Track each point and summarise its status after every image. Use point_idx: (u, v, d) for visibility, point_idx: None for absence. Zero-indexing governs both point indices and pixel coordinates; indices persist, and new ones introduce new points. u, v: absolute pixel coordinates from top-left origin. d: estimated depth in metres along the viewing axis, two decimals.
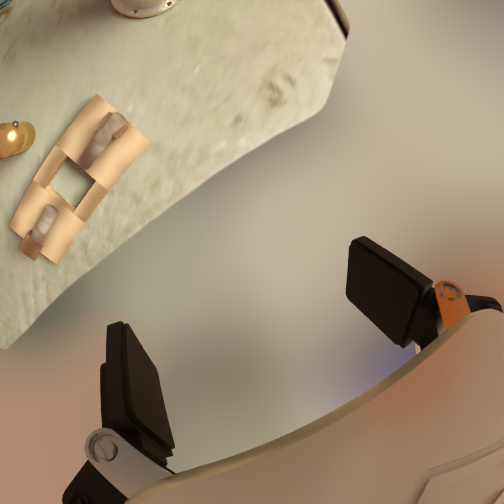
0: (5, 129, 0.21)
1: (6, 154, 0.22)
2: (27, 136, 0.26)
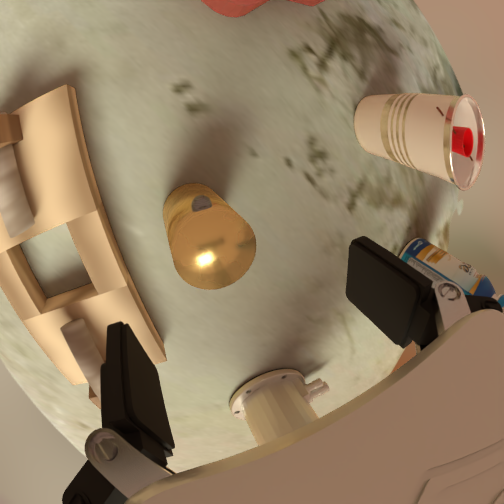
0: (230, 271, 0.17)
1: (178, 248, 0.15)
2: None
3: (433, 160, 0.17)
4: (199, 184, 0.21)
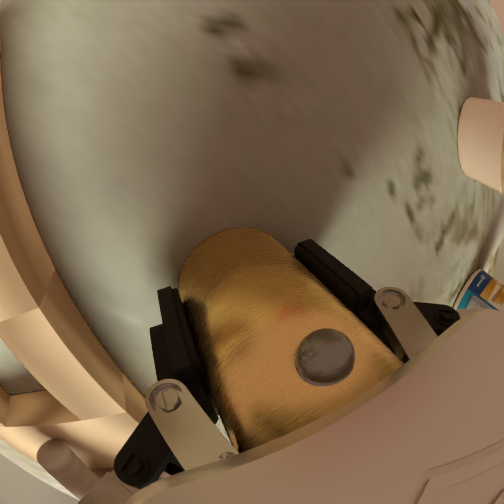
0: None
1: None
2: None
3: None
4: (254, 232, 0.11)
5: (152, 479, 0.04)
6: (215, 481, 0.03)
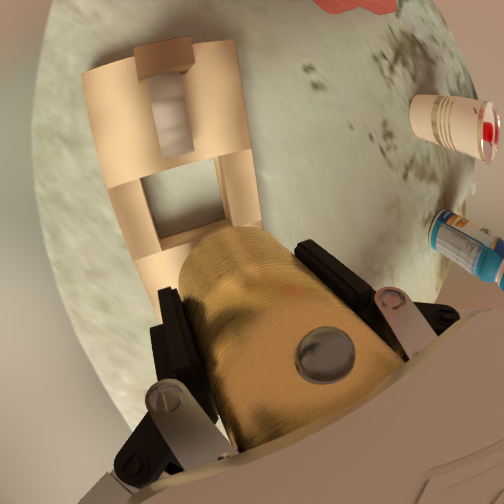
0: None
1: None
2: None
3: (469, 142, 0.21)
4: (254, 230, 0.10)
5: (152, 479, 0.04)
6: (215, 481, 0.03)
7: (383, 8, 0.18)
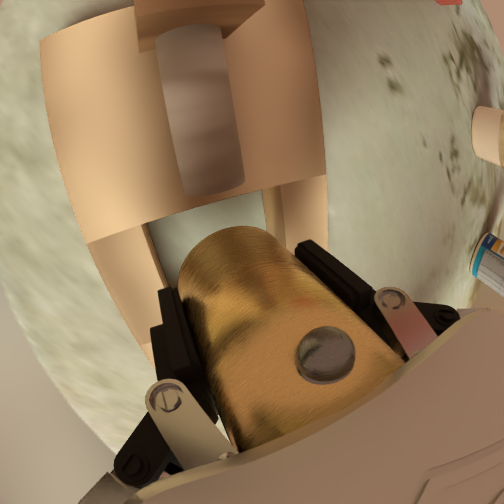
0: None
1: None
2: None
3: None
4: (254, 230, 0.10)
5: (152, 479, 0.04)
6: (215, 481, 0.03)
7: None
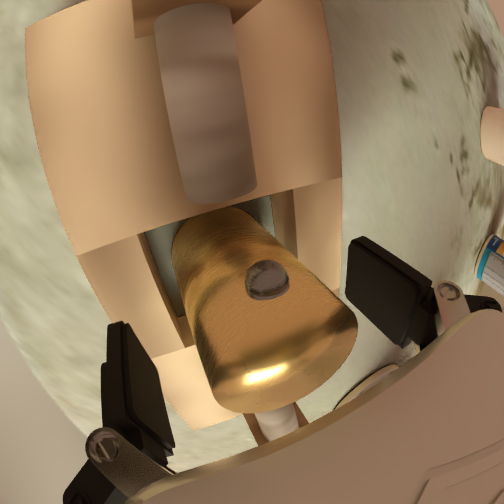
0: (307, 384, 0.09)
1: (223, 376, 0.07)
2: None
3: None
4: (232, 209, 0.13)
5: None
6: (215, 481, 0.03)
7: None
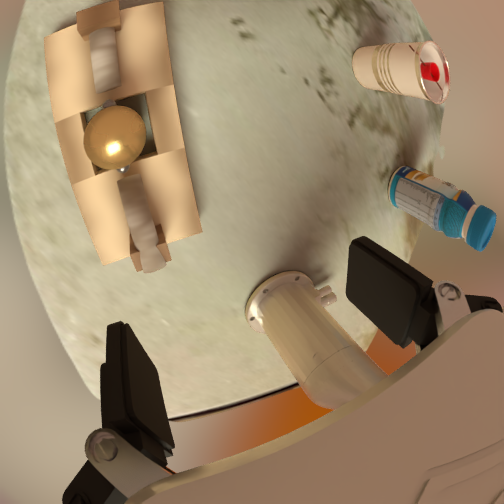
0: (125, 154, 0.18)
1: (87, 134, 0.16)
2: None
3: (409, 80, 0.22)
4: None
5: None
6: (215, 481, 0.03)
7: None
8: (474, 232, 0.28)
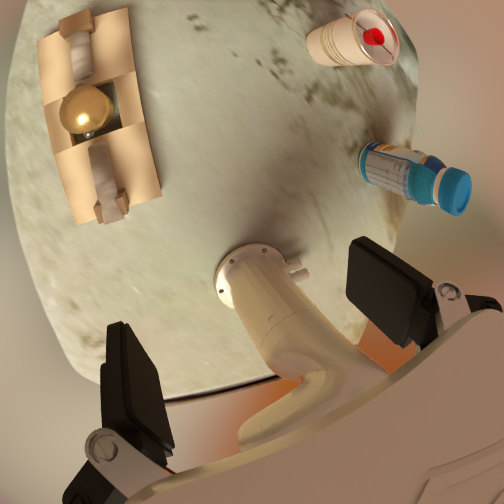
0: (89, 121, 0.20)
1: (62, 108, 0.18)
2: None
3: (350, 45, 0.24)
4: None
5: None
6: (215, 481, 0.03)
7: None
8: (445, 194, 0.29)
